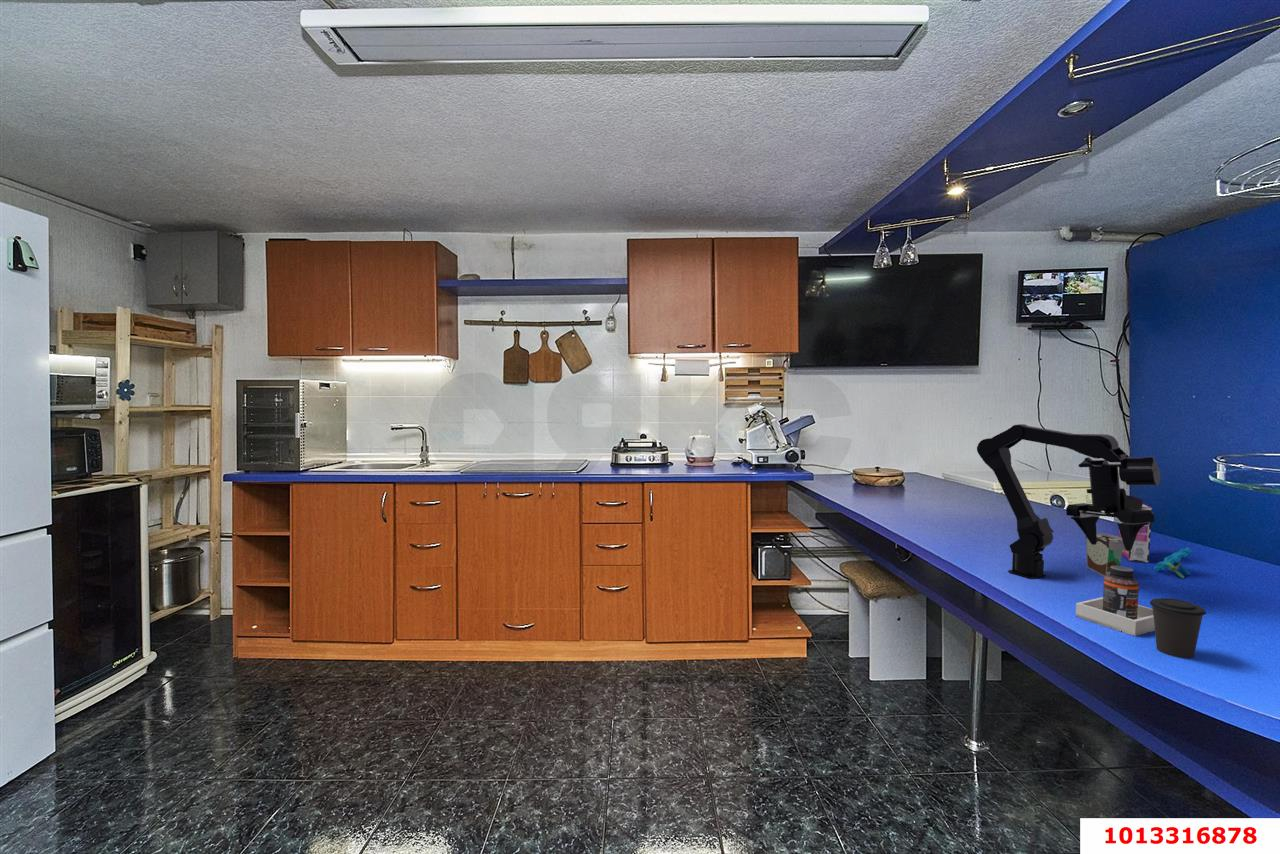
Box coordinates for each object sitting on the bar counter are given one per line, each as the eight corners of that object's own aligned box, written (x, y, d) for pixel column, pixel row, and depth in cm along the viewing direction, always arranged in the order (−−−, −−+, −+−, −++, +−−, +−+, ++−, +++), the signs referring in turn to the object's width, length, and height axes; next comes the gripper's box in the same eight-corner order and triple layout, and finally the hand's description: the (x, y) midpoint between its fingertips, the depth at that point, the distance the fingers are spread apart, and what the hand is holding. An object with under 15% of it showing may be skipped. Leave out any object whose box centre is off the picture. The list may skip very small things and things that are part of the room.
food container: (1135, 580, 155) (1137, 543, 154) (1109, 579, 156) (1110, 542, 155) (1108, 566, 167) (1109, 532, 166) (1083, 565, 168) (1085, 531, 167)
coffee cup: (1138, 641, 118) (1140, 592, 117) (1187, 645, 115) (1190, 596, 115) (1161, 658, 110) (1164, 606, 109) (1214, 664, 108) (1217, 611, 107)
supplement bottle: (1130, 626, 123) (1132, 573, 123) (1097, 617, 128) (1099, 566, 128) (1142, 620, 126) (1144, 569, 126) (1109, 611, 131) (1111, 562, 131)
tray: (1075, 616, 130) (1076, 603, 130) (1107, 609, 135) (1107, 595, 134) (1135, 636, 120) (1135, 621, 120) (1167, 627, 124) (1167, 613, 124)
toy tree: (1155, 559, 168) (1189, 541, 161) (1174, 577, 165) (1210, 558, 158) (1146, 572, 161) (1182, 553, 154) (1166, 590, 158) (1203, 572, 152)
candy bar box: (1150, 563, 169) (1153, 507, 168) (1128, 561, 172) (1131, 506, 171) (1137, 553, 180) (1139, 501, 179) (1117, 551, 182) (1119, 499, 181)
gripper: (1171, 484, 137) (1178, 550, 137) (1098, 480, 156) (1104, 538, 155) (1130, 488, 136) (1136, 555, 135) (1061, 483, 154) (1067, 542, 154)
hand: (1110, 547), depth 145 cm, fingers open, 9 cm apart
